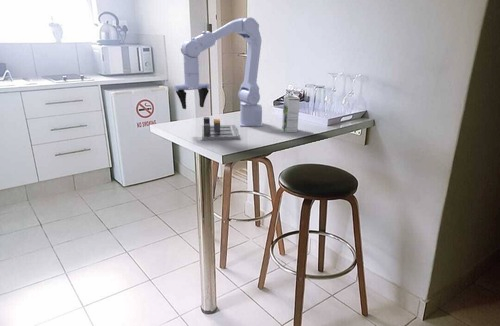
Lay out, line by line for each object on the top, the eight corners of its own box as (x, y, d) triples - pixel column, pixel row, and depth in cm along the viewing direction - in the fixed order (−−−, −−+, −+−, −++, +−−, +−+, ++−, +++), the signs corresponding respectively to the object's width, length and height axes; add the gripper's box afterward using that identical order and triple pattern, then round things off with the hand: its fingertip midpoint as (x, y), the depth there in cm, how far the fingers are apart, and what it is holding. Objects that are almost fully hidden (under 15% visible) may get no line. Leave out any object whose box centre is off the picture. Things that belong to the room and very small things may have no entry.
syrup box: (281, 128, 154) (283, 94, 149) (295, 128, 154) (297, 94, 149) (283, 132, 148) (285, 97, 144) (298, 132, 149) (300, 97, 144)
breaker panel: (234, 127, 155) (234, 115, 153) (239, 139, 138) (239, 126, 136) (202, 128, 153) (201, 116, 151) (202, 140, 136) (201, 126, 135)
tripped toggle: (219, 128, 146) (219, 119, 145) (220, 130, 144) (220, 120, 142) (213, 128, 146) (213, 119, 145) (214, 130, 143) (213, 121, 142)
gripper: (204, 71, 148) (205, 104, 153) (170, 73, 141) (172, 107, 145) (211, 73, 142) (212, 107, 147) (177, 75, 135) (179, 110, 140)
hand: (193, 107), depth 146 cm, fingers open, 7 cm apart
